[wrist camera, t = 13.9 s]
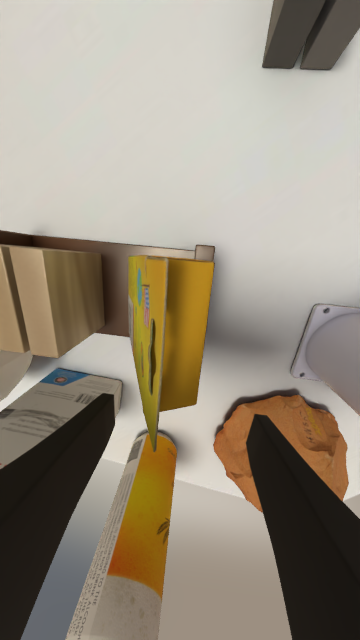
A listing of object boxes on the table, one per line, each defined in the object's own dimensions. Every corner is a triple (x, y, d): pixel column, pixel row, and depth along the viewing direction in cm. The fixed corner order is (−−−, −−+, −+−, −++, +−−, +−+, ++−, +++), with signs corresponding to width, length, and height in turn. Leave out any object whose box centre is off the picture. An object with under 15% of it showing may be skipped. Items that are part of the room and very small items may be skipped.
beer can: (159, 465, 26) (115, 713, 12) (126, 443, 25) (35, 681, 11) (186, 445, 24) (172, 709, 10) (151, 421, 23) (81, 671, 9)
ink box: (58, 397, 23) (-67, 520, 12) (56, 366, 22) (-91, 476, 11) (120, 410, 23) (50, 549, 12) (123, 380, 22) (44, 508, 10)
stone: (231, 368, 23) (300, 412, 13) (318, 391, 26) (425, 440, 16) (197, 480, 22) (240, 611, 13) (288, 489, 26) (379, 599, 16)
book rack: (212, 252, 16) (225, 247, 9) (199, 341, 19) (201, 390, 12) (26, 235, 17) (-96, 216, 10) (41, 322, 20) (-45, 356, 13)
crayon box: (158, 333, 18) (215, 441, 8) (128, 335, 17) (146, 461, 7) (162, 257, 16) (252, 264, 5) (127, 253, 15) (154, 254, 4)
